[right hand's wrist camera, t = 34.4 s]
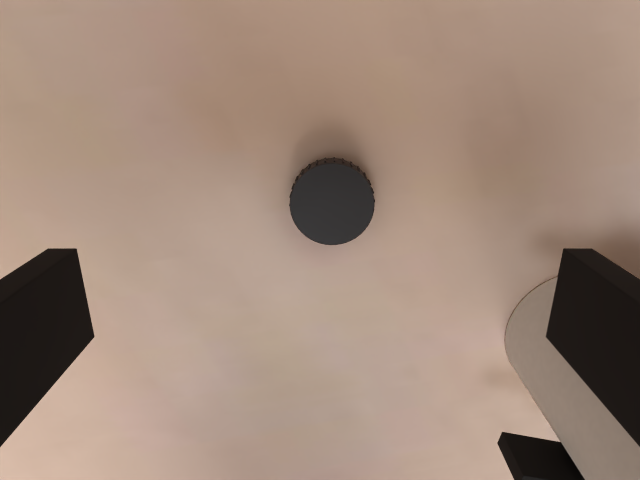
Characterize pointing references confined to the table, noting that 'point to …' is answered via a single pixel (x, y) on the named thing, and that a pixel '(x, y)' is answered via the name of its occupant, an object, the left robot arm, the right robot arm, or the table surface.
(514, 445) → the left robot arm
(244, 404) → the table surface
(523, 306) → the bottle
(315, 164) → the cap
